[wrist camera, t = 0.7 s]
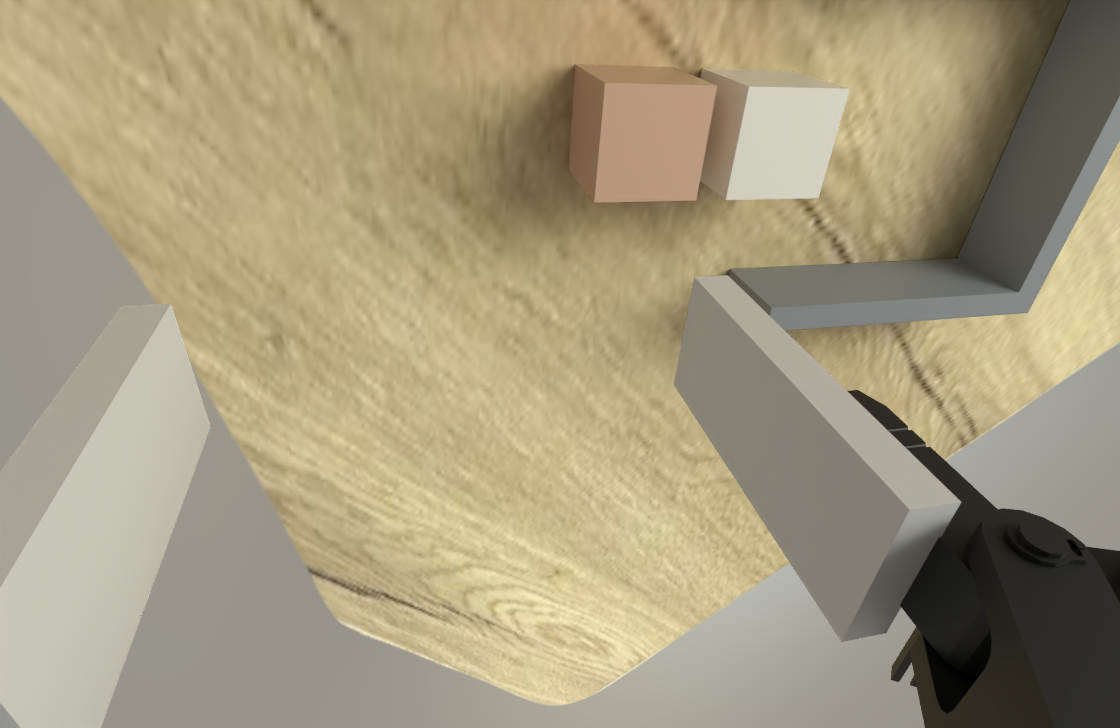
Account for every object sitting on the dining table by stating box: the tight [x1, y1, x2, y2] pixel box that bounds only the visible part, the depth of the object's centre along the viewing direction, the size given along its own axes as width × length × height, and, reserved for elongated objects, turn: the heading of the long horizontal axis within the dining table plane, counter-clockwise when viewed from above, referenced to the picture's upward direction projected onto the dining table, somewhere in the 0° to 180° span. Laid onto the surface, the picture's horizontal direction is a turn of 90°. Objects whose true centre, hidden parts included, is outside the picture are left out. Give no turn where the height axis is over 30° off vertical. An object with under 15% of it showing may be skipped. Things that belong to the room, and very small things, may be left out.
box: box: [729, 0, 1120, 331], centre depth 33 cm, size 20×18×5 cm
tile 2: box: [700, 68, 850, 200], centre depth 31 cm, size 5×5×5 cm
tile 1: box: [568, 64, 717, 203], centre depth 29 cm, size 5×5×5 cm
